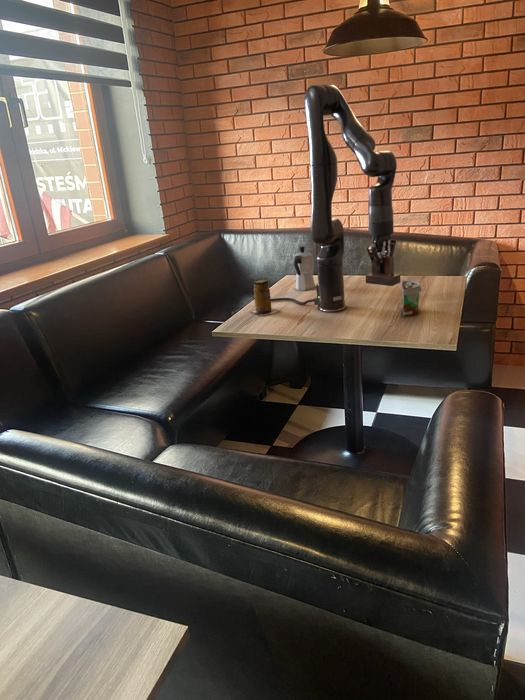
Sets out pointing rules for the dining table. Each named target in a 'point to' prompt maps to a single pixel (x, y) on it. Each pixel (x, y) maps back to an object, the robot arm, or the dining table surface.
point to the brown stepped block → (388, 275)
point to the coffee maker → (303, 270)
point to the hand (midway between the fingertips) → (382, 273)
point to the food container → (410, 297)
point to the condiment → (262, 298)
